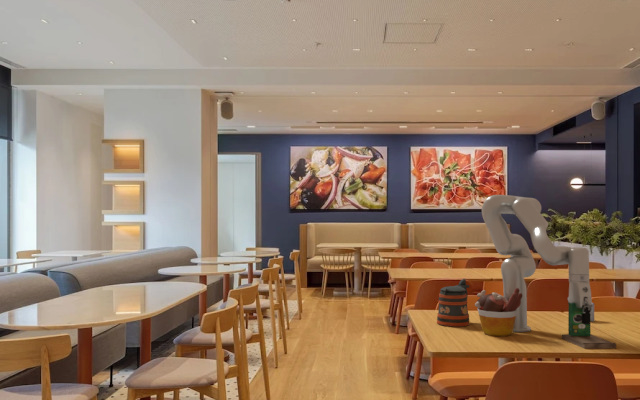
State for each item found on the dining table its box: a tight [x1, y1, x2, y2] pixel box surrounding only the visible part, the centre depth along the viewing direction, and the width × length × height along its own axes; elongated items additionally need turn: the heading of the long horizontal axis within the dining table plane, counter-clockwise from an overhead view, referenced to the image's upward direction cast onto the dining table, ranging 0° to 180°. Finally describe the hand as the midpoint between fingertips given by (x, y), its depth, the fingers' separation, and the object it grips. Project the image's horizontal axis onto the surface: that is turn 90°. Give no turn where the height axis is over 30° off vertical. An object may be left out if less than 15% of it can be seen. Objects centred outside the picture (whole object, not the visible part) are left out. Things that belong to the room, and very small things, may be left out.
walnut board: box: [561, 333, 617, 350], centre depth 217 cm, size 12×18×2 cm, turn 2°
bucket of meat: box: [474, 288, 523, 337], centre depth 235 cm, size 20×16×20 cm
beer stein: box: [436, 278, 470, 328], centre depth 260 cm, size 19×15×20 cm
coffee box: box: [567, 303, 592, 336], centre depth 223 cm, size 8×3×13 cm, turn 92°
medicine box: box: [590, 302, 595, 322], centre depth 266 cm, size 8×4×9 cm, turn 84°
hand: (579, 321), depth 223 cm, fingers open, 9 cm apart
